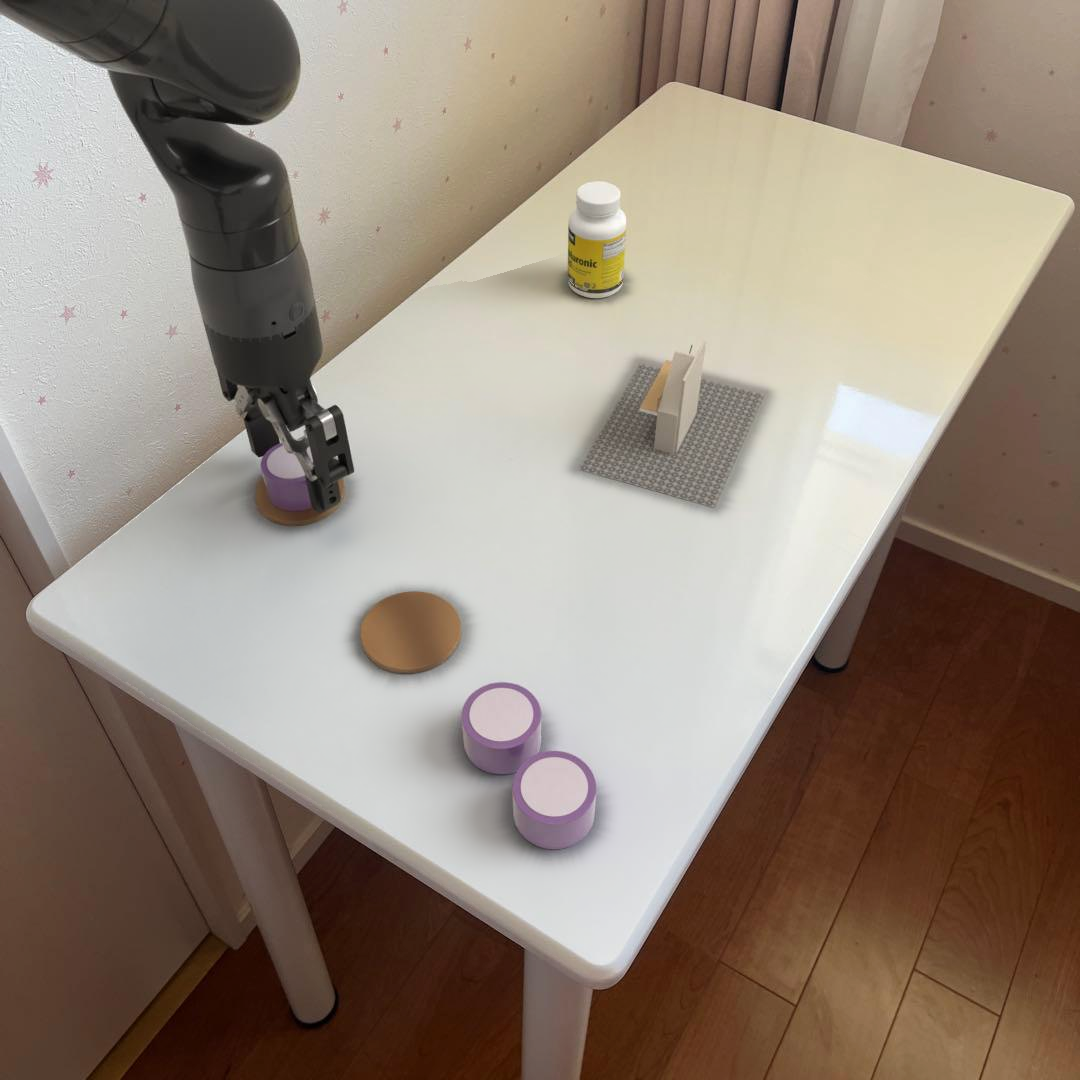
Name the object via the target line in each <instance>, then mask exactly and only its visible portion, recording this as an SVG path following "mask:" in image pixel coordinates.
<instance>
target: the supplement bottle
mask: <svg viewBox="0 0 1080 1080" xmlns="http://www.w3.org/2000/svg"><path fill="white" fill-rule="evenodd" d="M575 204H576V207H575V208H574V209H573V210H572V212H571V213H570V214H569V217H568V227H567V242H568V243H567V284H568V287H569V288H570V290H572V291H573V292H574V293H575V294H577V295H579V296H582V297H585V298H591V299H603V298H607V297H610V296H612V295H614V294H616V293H618V291H620V290H621V288H622V286H623V283H624V275H625V261H626V260H625V256H626V241H627V223H628V222H627V221H628V220H627V217H626V214H625V212H624V211H623V210H622V209H621V191H620V188H619V187H617V186H616V185H614V183H613V184H612V183H610V182H607V181H600V180H599V181H598V180H597V181H589V182H586V183H584V184H582V185H580V186H579V187H578V188H577V190H576V201H575ZM568 277H569V279H570V281H571V282H572V283H573V284H574V285H573V284H572V283H571V282H570V281H569V279H568ZM621 281H622V282H621ZM619 283H620V284H619ZM618 284H619V285H618ZM575 285H576V286H577V287H576V286H575Z"/></svg>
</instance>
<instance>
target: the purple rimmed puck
mask: <svg viewBox="0 0 1080 1080" xmlns="http://www.w3.org/2000/svg"><path fill="white" fill-rule="evenodd" d="M596 781H597V780H596V778H595V775H594V773H593V771H592V770H591V768H590V767H589V765H587V763H586V762H585V761H584V760H583V759H581V758H580V757H578V756H576V755H574V754H573V753H570V752H567V751H566V752H565V751H562V750H561V751H560V750H548V751H547V750H546V751H542V752H539V753H538V754H536V755H534V756H532V757H530V758H529V759H527V760H526V761H525V762H524V763H523V764H522V765H521V766H520V767H519V768H518V770H517V771H516V772H515V774H514V776H513V779H512V785H511V791H512V792H511V794H512V795H511V796H512V815H513V822H514V824H515V827H516V829H517V830H518V832H519V833H520V835H521V836H522V837H523V838H524V839H525V840H526V841H527V842H529V843H530V844H532V845H534V846H536V847H539V848H541V849H546V850H562V849H566V848H569V847H572V846H574V845H576V844H578V843H580V842H581V841H582V840H583V839H585V838H586V837H587V835H588V834H589V832H591V829H592V827H593V824H594V821H595V817H596V816H595V814H596V802H597V782H596Z"/></svg>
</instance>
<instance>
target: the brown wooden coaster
mask: <svg viewBox="0 0 1080 1080" xmlns="http://www.w3.org/2000/svg"><path fill="white" fill-rule="evenodd" d="M461 623H462V622H461V618H460V616H459V614H458V611H456V609H455V607H454V606H453V605H452V604H451V603H450V602H449V601H447V600H446V599H444V598H443V597H442V596H439V595H436V594H435V593H431V592H425V591H419V590H416V591H415V590H411V591H403V592H399V593H395V594H392V595H390V596H387V597H385V598H383V599H381V600H380V601H378V602H377V603H376V604H374V605H373V606H372V607H371V608H370V610H369V611H368V612H367V613H366V615H365V616H364V618H363V620H362V623H361V626H360V632H359V635H360V636H359V638H360V642H361V647H362V649H363V651H364V653H365V655H366V657H367V658H368V659H369V660H370V661H371V662H372V663H373V664H374V665H376V666H378V667H379V668H381V669H383V670H385V671H388V672H391V673H396V674H407V675H409V674H419V673H423V672H427V671H430V670H432V669H434V668H436V667H438V666H440V665H441V664H443V663H445V662H446V661H447V660H448V659H449V658H450V657H451V656H452V655H453V653H455V651H456V650H457V648H458V646H459V643H460V640H461V637H462V624H461Z"/></svg>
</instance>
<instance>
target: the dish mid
mask: <svg viewBox="0 0 1080 1080" xmlns="http://www.w3.org/2000/svg"><path fill="white" fill-rule="evenodd" d="M460 717H461V727H462V738H463V748H464V751H465V753H466V756H467V758H468V759H469V761H470V762H471V763H472V764H473V765H474V766H475V767H477V768H478V769H480V770H481V771H484V772H486V773H489V774H493V775H510V774H514V773H515V774H516V771H517V770H518V768H519V767H520V766H521V765H522V764H523V763H524V762H525V761H526V760H527V759H529V758H530V757H532V756H534V755H536V754H539V753H540V751H541V747H542V709H541V705H540V703H539V701H538V699H537V698H536V696H535V695H534V694H533V693H532V692H531V691H530V690H528V689H527V688H526V687H524V686H521V685H519V684H516V683H513V682H507V681H506V682H505V681H499V682H493V683H489V684H485V685H482V686H481V687H479V688H477V689H476V690H474V691H473V692H472V693H471V694H470V695H469V696H468V698H467V699H466V700H465V702H464V704H463V706H462V710H461V716H460Z"/></svg>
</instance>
